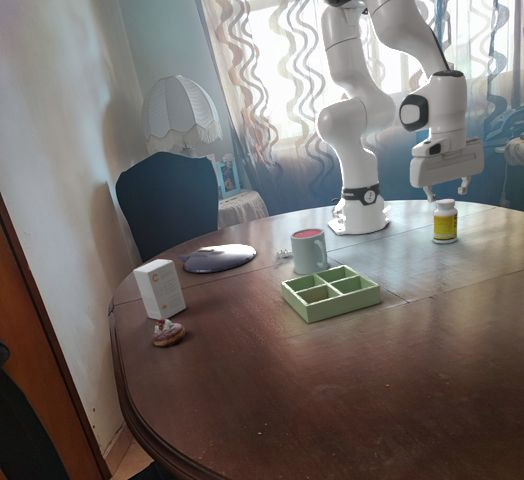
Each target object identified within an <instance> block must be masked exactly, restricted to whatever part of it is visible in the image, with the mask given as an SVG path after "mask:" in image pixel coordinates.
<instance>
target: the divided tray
mask: <svg viewBox="0 0 524 480" xmlns="http://www.w3.org/2000/svg"><path fill="white" fill-rule="evenodd" d="M280 287H281V294H282V298H283V299H284V300H285V301H286V302H287V303H288V304H289V305H290V307H292V309H294V310H295V311H296V313H298V314H299V316H300V317H301V318H302V319H303V320H304V321H305V322H307V324H313V323H315V322H318V321H322V320H326V319H329V318H332V317H333V318H334V317H337V316H339V315H342V314H345V313H350V312H353V311H356V310H360V309H363V308H367V307H371V306H373V305H374V306H375V305H377V304H380V303H382V300H381V299H382V298H381V297H382V295H381V285H380V284H378V283H377V282H375V281H373V280H371V279H370V278H369V277H367V276H365V275H363V274H361V273H360V272H358V271H357V270H356V269H354V268H352V267H350V266H349V265H347V264H343V265H342V264H341V265H339V266H336V267H332V268H327V269H326V270H324V271H320V272H317V273H313V274H304V275H302V276H298V277H295V278H291V279H287V280H283V281H280Z"/></svg>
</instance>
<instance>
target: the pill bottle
mask: <svg viewBox="0 0 524 480" xmlns="http://www.w3.org/2000/svg"><path fill="white" fill-rule="evenodd" d="M455 206H456V200H455V199H453V198H444V199H443V198H442V199H439V200H436V209H435V210H434V211H433V220H432V221H433V233H432V237H433V238H432V239H433V242H434V243H436V244H450V243H451V244H452V243H454V242H456V240H457V237H458V213H459V212H458V209H457V208H456V207H455Z"/></svg>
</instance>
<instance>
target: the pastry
mask: <svg viewBox="0 0 524 480" xmlns="http://www.w3.org/2000/svg"><path fill="white" fill-rule="evenodd" d="M185 335H186V330H185V326H183V325H182V324H180V323H172V321H171V320H170V319H165V318H164V317H162V318H161V319H160V320H157V322H156V323H155V326H154V334H153V335H152V341H153V345H154V346H156V347H170V346H173V345H175V344H177V343H178V342H180V341H182V340H183V338H184V336H185Z"/></svg>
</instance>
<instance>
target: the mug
mask: <svg viewBox="0 0 524 480" xmlns="http://www.w3.org/2000/svg"><path fill="white" fill-rule="evenodd" d="M325 235H326V234H325V229H323V228H320V227H310V228H303V229H300V230H297V231H294V232H292V233H291V234H289V239H290V245H291V251H292V253H293V256H292V260H293V267H294V272H295V274H298V275H309V274H313V273H317V272H320V271H324V270H328V269H329V268H328V267H329V264H328V252H327V244H326V236H325Z"/></svg>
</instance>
